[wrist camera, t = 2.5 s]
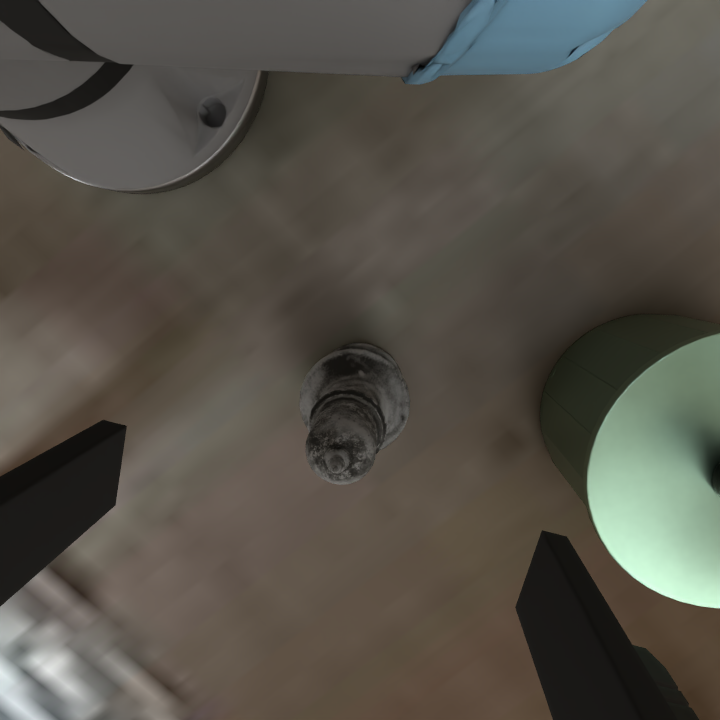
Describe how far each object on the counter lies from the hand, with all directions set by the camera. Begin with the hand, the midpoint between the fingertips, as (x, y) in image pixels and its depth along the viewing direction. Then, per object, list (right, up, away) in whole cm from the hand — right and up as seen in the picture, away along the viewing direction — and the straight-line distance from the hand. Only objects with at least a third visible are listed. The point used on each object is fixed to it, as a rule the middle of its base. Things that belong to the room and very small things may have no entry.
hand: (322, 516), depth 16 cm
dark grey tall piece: (+1, +3, +15) cm, 15 cm away
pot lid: (+17, 0, +5) cm, 18 cm away
